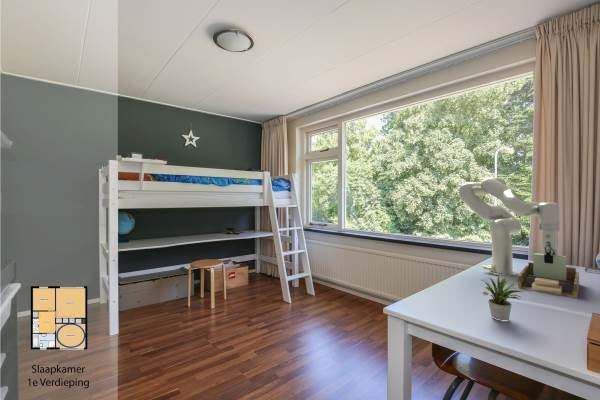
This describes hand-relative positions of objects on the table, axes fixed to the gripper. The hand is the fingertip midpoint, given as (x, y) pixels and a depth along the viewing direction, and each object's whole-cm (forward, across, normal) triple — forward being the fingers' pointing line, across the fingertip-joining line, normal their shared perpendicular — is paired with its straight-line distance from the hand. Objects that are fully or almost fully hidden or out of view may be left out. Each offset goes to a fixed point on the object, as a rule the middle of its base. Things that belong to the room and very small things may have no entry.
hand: (549, 261), depth 138 cm
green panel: (+11, 0, 0) cm, 11 cm away
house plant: (+12, -62, +10) cm, 64 cm away
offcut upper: (+8, -16, 0) cm, 18 cm away
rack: (+12, -6, 0) cm, 14 cm away
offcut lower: (+11, -16, 0) cm, 19 cm away
